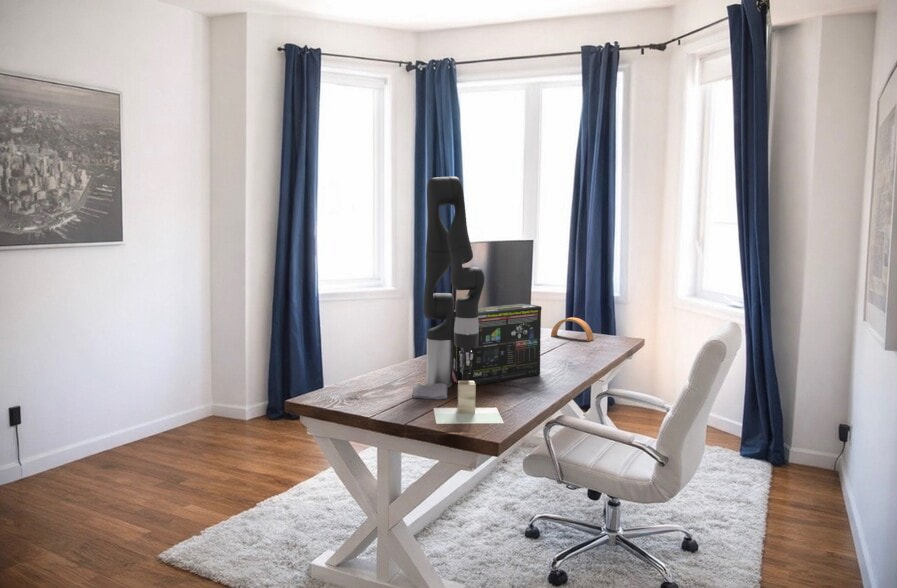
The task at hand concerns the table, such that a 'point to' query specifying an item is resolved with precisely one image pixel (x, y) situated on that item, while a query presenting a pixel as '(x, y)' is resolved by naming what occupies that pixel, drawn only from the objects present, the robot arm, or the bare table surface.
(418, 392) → the stone block
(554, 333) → the arch
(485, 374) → the router box
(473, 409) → the birch block
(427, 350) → the robot arm
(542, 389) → the table surface
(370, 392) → the table surface
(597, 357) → the table surface
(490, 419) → the board
